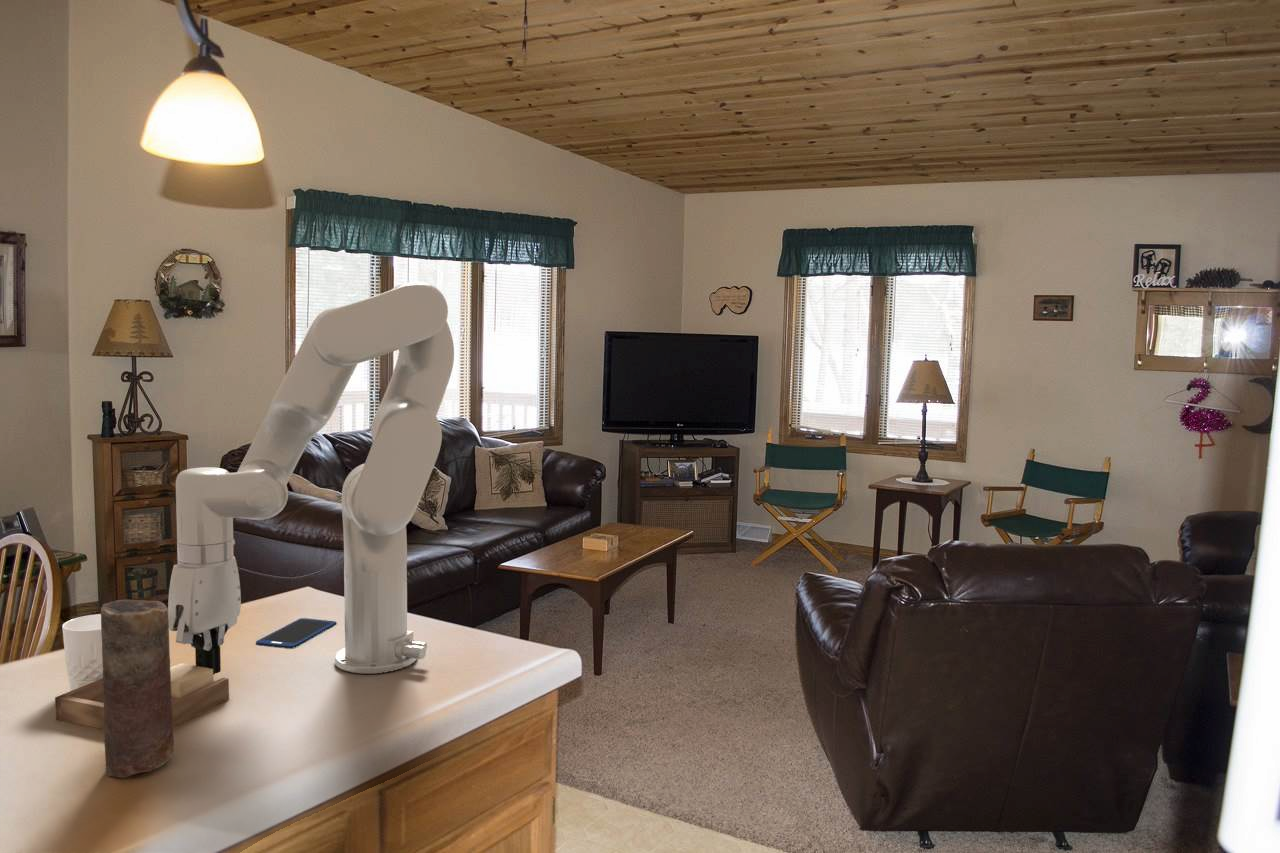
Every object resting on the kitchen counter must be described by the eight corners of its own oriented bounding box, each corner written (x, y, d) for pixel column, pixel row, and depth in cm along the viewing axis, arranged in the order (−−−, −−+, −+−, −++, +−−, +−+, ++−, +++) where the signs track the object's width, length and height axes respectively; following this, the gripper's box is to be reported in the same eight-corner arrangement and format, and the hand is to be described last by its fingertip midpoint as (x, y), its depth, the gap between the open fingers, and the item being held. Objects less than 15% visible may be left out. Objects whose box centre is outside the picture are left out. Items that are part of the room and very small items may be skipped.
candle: (123, 751, 120) (117, 594, 118) (184, 750, 120) (179, 594, 118) (93, 781, 112) (86, 613, 110) (159, 780, 113) (153, 613, 111)
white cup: (100, 702, 135) (97, 632, 134) (51, 696, 136) (48, 628, 135) (140, 681, 142) (137, 616, 141) (93, 676, 144) (91, 611, 143)
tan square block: (213, 688, 141) (213, 669, 141) (180, 703, 136) (179, 683, 135) (182, 682, 143) (181, 662, 143) (148, 696, 138) (147, 676, 138)
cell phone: (253, 646, 159) (253, 642, 159) (301, 621, 173) (301, 617, 173) (293, 651, 158) (293, 646, 158) (338, 625, 171) (338, 621, 171)
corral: (229, 699, 137) (228, 678, 136) (149, 738, 124) (148, 716, 123) (141, 682, 142) (141, 663, 142) (56, 719, 129) (55, 697, 128)
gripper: (223, 539, 150) (225, 653, 152) (144, 560, 136) (147, 686, 138) (262, 544, 147) (264, 660, 149) (185, 566, 133) (188, 694, 135)
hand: (208, 672), depth 144 cm, fingers closed
